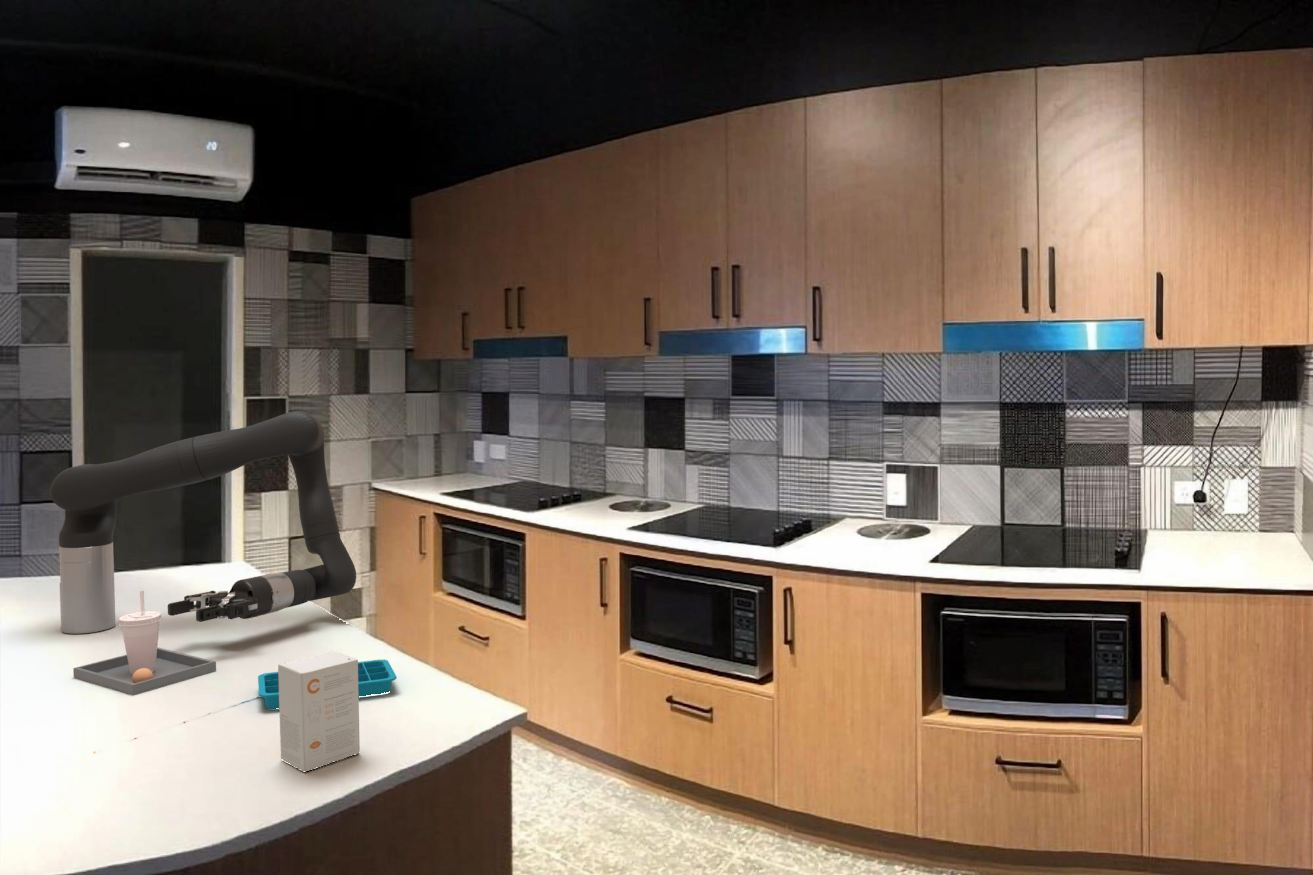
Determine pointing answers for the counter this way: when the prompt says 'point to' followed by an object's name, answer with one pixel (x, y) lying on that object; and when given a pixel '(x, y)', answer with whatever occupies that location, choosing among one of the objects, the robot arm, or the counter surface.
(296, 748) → the small box
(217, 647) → the counter surface
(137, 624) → the smoothie
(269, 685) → the ice cube tray
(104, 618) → the robot arm
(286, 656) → the counter surface
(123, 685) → the tray
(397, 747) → the counter surface
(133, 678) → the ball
